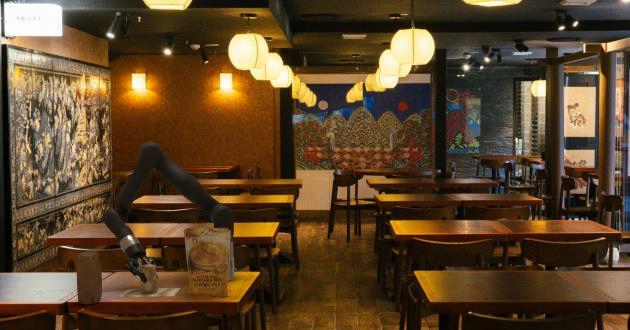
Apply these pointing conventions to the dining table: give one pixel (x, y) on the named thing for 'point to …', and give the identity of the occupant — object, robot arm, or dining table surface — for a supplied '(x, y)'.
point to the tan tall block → (149, 279)
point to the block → (89, 278)
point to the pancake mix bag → (208, 260)
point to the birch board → (159, 293)
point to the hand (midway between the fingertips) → (151, 280)
